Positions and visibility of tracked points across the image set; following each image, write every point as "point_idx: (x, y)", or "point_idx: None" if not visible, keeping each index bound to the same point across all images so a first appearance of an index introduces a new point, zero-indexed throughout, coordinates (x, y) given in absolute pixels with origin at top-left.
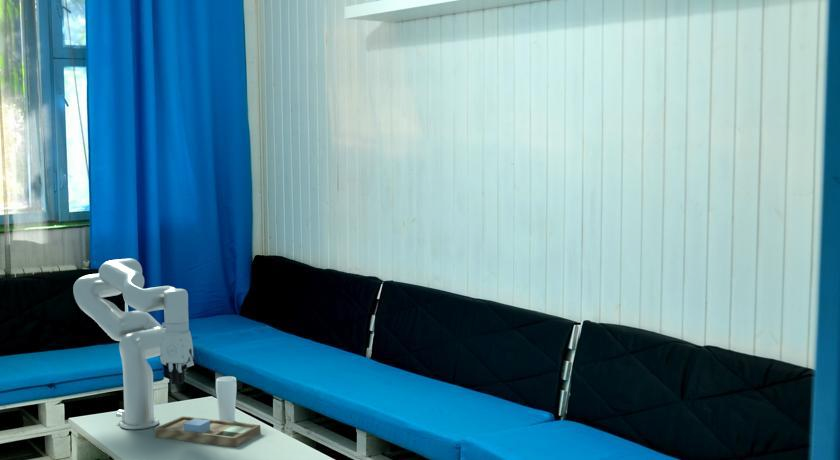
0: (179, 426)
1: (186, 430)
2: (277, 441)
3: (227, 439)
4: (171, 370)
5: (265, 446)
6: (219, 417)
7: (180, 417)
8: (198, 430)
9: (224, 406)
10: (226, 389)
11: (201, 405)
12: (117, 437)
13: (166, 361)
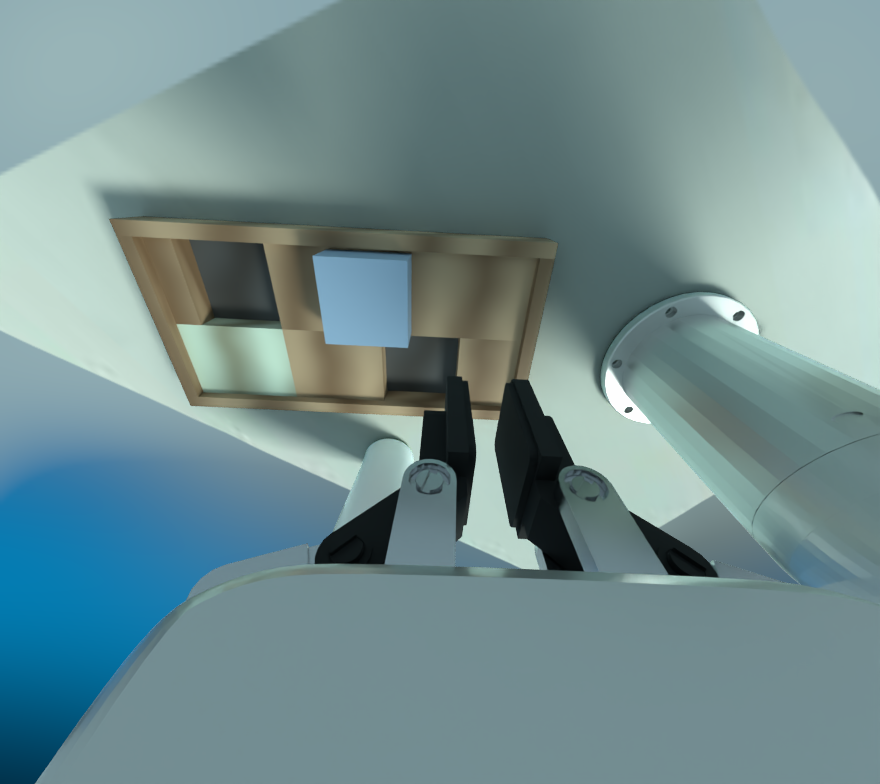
0: (478, 329)
1: (394, 254)
2: (85, 333)
3: (161, 220)
4: (571, 485)
5: (59, 265)
6: (401, 452)
7: None
8: (326, 251)
9: (368, 477)
10: None
11: None
12: (724, 169)
13: (750, 600)
